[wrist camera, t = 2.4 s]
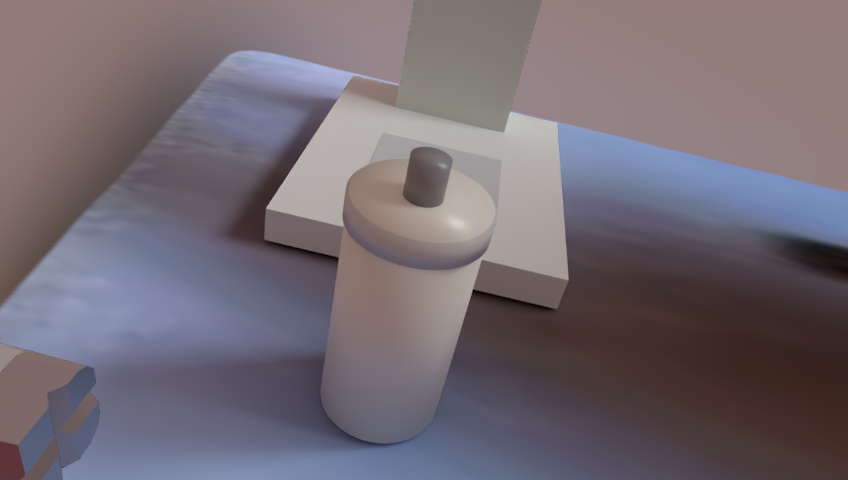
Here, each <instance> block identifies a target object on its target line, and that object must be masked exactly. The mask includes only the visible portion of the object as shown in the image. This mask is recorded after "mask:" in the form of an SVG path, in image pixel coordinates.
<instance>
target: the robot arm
mask: <svg viewBox="0 0 848 480" xmlns="http://www.w3.org/2000/svg"><path fill="white" fill-rule="evenodd" d="M95 383H96V379H95V373H94V368H92V367H88V366H85V365H81V364H77V363H73V362H70V361H66V360H62V359H59V358H55V357H51V356H48V355H44V354H40V353H36V352H33V351H29V350H25V349H21V348H17V347H14V346H10V345H6V344H2V343H0V480H63V476H62V468H64V467H66V466H67V465H69V464H71V463H73V462H75V461H77V460H79V459H80V458H81V456H82V455H83V453H84V452H85V450H86V449H87V447H88V446H89V444H90V443H91V440H92V438H93V436H94V433H95V431H96V428H97V426H98V420H99V414H100V410H99V401H98V400H97V399H96V398H95V397H94V396H93V394H92V393H91V392H90V390H91V389H92V387H93V386H94V385H95Z"/></svg>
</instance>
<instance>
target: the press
mask: <svg viewBox="0 0 848 480" xmlns="http://www.w3.org/2000/svg"><path fill="white" fill-rule="evenodd" d="M541 1H542V0H414V3H413V9H412V15H411V20H410V26H409V32H408V38H407V44H406V49H405V55H404V60H403V66H402V72H401V78H400V83H399V86H397V85H393V84H389V83H385V82H380V81H376V80H372V79H368V78H363V77H359V76H355V75H353V77H352V78H351V80H350V82H349V83H348V85H347V86H346V88H345V89H344V91H343V92H342V94H341V95H340V97H339V98H338V100H337V101H336V103H335V104H334V106H333V107H332V109H331V110H330V112H329V113H328V115H327V116H326V118H325V119H324V121H323V123H322V124H321V126H320V127H319V129H318V130H317V132H316V133H315V135H314V136H313V138H312V139H311V141H310V142H309V144H308V145H307V147H306V148H305V150H304V151H303V153H302V154H301V156H300V157H299V159H298V160H297V162H296V164H295V165H294V167H293V168H292V170H291V171H290V173H289V174H288V176H287V177H286V179H285V180H284V182H283V183H282V185H281V186H280V188H279V189H278V191H277V192H276V194H275V195H274V197H273V198H272V200H271V201H270V203H269V205H268V206H267V208H266V215H265V232H264V240H267V241H272V242H276V243H280V244H284V245H289V246H293V247H297V248H301V249H305V250H310V251H314V252H318V253H322V254H326V255H331V256H335V257H339V254H340V247H341V240H342V233H343V226H344V223H343V218H342V212H343V205H344V198H345V191H346V185H347V182H348V180H349V178H350V177H351V176H352V175H353V174H354V173H355V172H356V171H357V170H359V169H361V168H362V167H364V166H366V165H369V164H371V163H374V162H378V161H383V160H389V159H409V158H410V153H411V151H412V150H413V149H415V148H418V147H432V148H437V149H440V150H442V151H444V152H446V153H447V154H449V155H450V156H451V157H452V159H453V163H452V167H451V169H454V170H456V171H458V172H461V173H463V174H464V175H466V176H468V177H470V178H471V179H473V180H474V181H476V182H477V183H478V184H479V185H481V186H482V187H483V188H484V189H485V190H486V191H487V193H488V194H489V195H490V196H491V198H492V199H493V201H494V203H495V205H496V208H497V214H498V215H497V221H496V224H495V228H494V231H493V234H492V238H491V241H490V244H489V247H488V249H487V250H486V252H485V253H484V254H483V257H482V261H481V264H480V267H479V271H478V274H477V277H476V281H475V284H474V287H473V289H474V290H478V291H482V292H487V293H491V294H495V295H499V296H503V297H508V298H512V299H516V300H520V301H524V302H529V303H533V304H537V305H541V306H546V307H550V308H554V309H557V308H558V306H559V303H560V301H561V298H562V296H563V293H564V291H565V288H566V286H567V283H568V281H569V277H568V264H567V251H566V237H565V224H564V211H563V197H562V184H561V171H560V157H559V144H558V130H557V123H555V122H551V121H546V120H542V119H538V118H534V117H529V116H525V115H521V114H517V113H512V112H510V110H511V107H512V103H513V100H514V96H515V93H516V89H517V86H518V82H519V79H520V75H521V72H522V68H523V65H524V61H525V58H526V54H527V50H528V47H529V44H530V40H531V37H532V33H533V29H534V26H535V22H536V19H537V15H538V12H539V8H540V5H541Z"/></svg>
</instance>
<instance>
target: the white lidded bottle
mask: <svg viewBox="0 0 848 480" xmlns="http://www.w3.org/2000/svg"><path fill="white" fill-rule="evenodd" d="M452 163H453V159H452V157H451V156H450V155H449V154H447V153H446V152H444V151H442V150H440V149H437V148H432V147H418V148H415V149H413V150H412V151H411V153H410V158H409V159H389V160H383V161H378V162H374V163H371V164H369V165H366V166H364V167H362V168H361V169H359V170H357V171H356V172H355V173H354V174H353V175H352V176H351V177H350V178H349V180H348V182H347V185H346V191H345V198H344V205H343V212H342V218H343V223H344V226H343V233H342V240H341V247H340V254H339V261H338V269H337V276H336V283H335V290H334V297H333V304H332V311H331V318H330V325H329V332H328V339H327V346H326V353H325V360H324V367H323V374H322V381H321V389H320V396H321V402H322V405H323V408H324V410H325V412H326V414H327V415H328V417H329V418H330V419H331V420H332V422H333V423H334V424H335V425H336V426H338V427H339V428H340V429H341V430H343V431H344V432H346V433H347V434H349V435H351V436H353V437H355V438H358V439H360V440H364V441H367V442H372V443H381V444H389V443H397V442H402V441H405V440H409V439H411V438H413V437H415V436H417V435H418V434H420V433H421V432H423V431H424V430H425V429H426V428H427V427H428V426H429V425H430V423H431V422H432V420H433V418H434V416H435V414H436V411H437V407H438V404H439V401H440V397H441V394H442V391H443V387H444V384H445V381H446V377H447V374H448V371H449V367H450V364H451V361H452V357H453V354H454V351H455V347H456V344H457V341H458V337H459V334H460V331H461V327H462V324H463V321H464V317H465V314H466V311H467V307H468V304H469V301H470V297H471V294H472V291H473V287H474V284H475V281H476V277H477V274H478V271H479V267H480V264H481V261H482V257H483V254H484V253H485V252H486V250H487V249H488V247H489V244H490V241H491V238H492V234H493V231H494V228H495V224H496V221H497V215H498V214H497V208H496V205H495V203H494V201H493V199H492V198H491V196H490V195H489V194H488V193H487V191H486V190H485V189H484V188H483V187H482V186H481V185H479V184H478V183H477V182H476V181H474V180H473V179H471V178H470V177H468V176H466V175H464V174H463V173H461V172H458V171H456V170H454V169H451V167H452Z"/></svg>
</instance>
